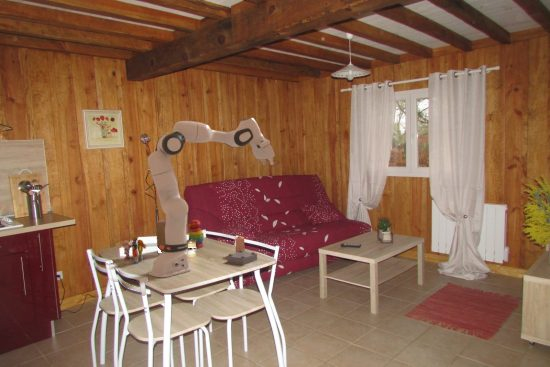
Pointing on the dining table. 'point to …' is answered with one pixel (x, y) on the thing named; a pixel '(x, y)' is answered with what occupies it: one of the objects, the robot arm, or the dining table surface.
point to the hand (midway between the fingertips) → (268, 164)
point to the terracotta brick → (239, 243)
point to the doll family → (134, 249)
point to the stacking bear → (196, 233)
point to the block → (160, 233)
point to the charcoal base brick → (242, 257)
